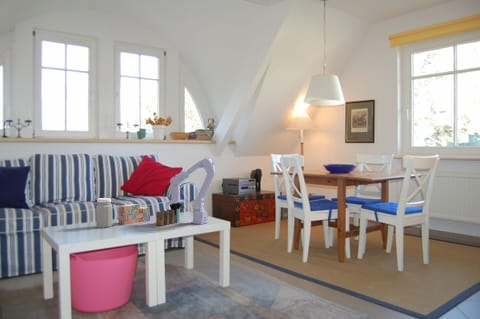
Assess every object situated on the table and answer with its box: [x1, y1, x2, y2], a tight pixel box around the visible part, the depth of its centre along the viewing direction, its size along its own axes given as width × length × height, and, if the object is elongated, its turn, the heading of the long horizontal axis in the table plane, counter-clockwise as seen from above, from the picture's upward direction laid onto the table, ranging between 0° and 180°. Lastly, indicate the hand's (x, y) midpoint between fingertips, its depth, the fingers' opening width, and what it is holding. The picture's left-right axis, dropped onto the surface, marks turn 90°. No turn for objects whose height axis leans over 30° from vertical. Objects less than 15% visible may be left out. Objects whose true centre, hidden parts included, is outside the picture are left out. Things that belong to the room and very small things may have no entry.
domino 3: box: [166, 209, 175, 225], centre depth 259 cm, size 2×5×9 cm, turn 58°
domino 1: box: [155, 211, 165, 227], centre depth 251 cm, size 2×5×9 cm, turn 58°
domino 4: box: [174, 209, 180, 224], centre depth 264 cm, size 2×5×9 cm, turn 57°
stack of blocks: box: [118, 203, 151, 226], centre depth 264 cm, size 21×6×12 cm, turn 143°
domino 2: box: [161, 210, 170, 226], centre depth 255 cm, size 2×5×9 cm, turn 58°
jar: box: [95, 197, 114, 229], centre depth 247 cm, size 10×10×18 cm
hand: (175, 214), depth 264 cm, fingers closed on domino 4, 2 cm apart
